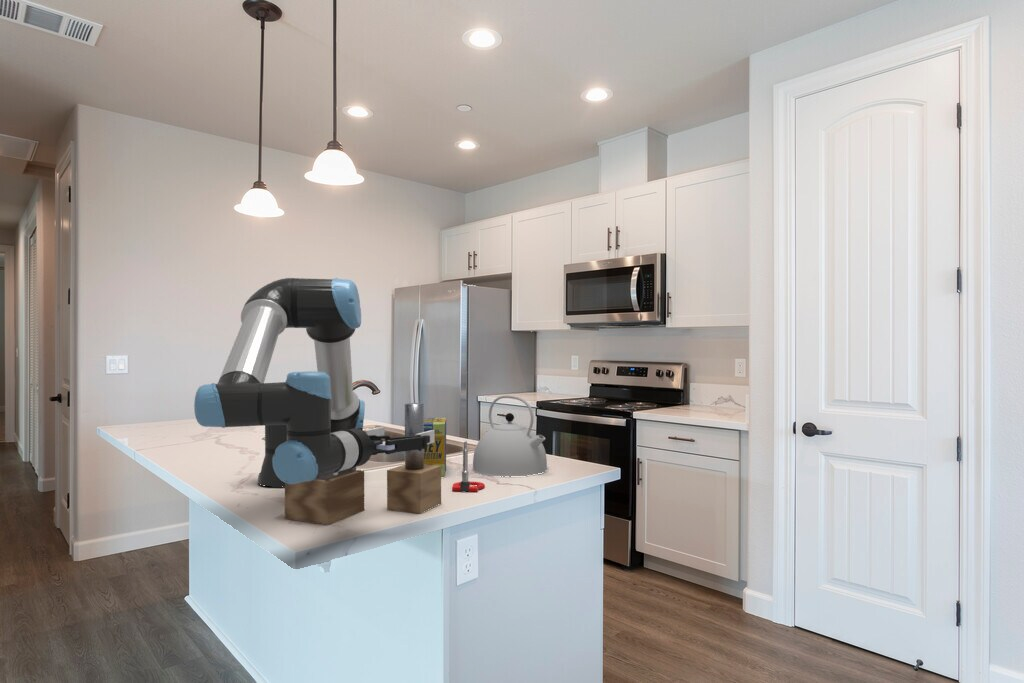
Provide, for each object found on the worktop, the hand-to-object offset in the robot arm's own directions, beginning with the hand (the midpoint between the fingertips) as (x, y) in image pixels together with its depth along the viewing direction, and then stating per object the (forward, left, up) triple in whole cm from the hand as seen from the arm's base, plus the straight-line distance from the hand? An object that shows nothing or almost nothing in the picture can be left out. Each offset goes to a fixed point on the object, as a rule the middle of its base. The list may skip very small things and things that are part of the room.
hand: (407, 434), depth 134 cm
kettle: (+4, +50, -18) cm, 53 cm away
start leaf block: (-1, +4, -17) cm, 18 cm away
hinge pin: (-1, +4, -8) cm, 9 cm away
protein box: (-17, +37, -18) cm, 44 cm away
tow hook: (+2, +25, -18) cm, 30 cm away
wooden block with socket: (-16, -9, -17) cm, 25 cm away
